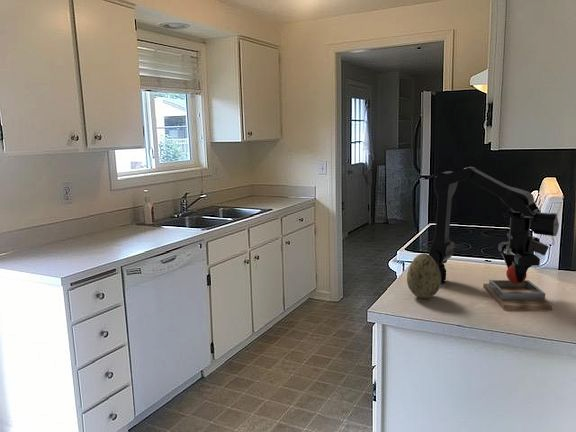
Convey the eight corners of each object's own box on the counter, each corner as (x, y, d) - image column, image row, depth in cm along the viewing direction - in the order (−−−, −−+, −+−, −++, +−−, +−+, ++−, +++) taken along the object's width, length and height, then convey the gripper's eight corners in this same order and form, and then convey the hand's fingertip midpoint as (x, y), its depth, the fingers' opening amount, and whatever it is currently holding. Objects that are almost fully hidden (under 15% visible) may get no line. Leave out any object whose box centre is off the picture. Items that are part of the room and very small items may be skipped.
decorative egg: (401, 299, 153) (402, 255, 150) (413, 289, 162) (414, 247, 159) (434, 306, 147) (435, 259, 144) (444, 295, 156) (446, 251, 153)
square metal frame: (502, 300, 146) (502, 293, 145) (489, 287, 158) (489, 280, 157) (544, 301, 144) (545, 293, 144) (528, 287, 157) (528, 280, 156)
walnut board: (503, 309, 142) (503, 305, 142) (483, 287, 162) (483, 283, 162) (552, 310, 141) (552, 305, 141) (525, 287, 160) (525, 283, 160)
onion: (508, 280, 155) (510, 257, 153) (527, 284, 151) (529, 260, 149) (503, 285, 150) (505, 261, 149) (523, 289, 147) (524, 264, 145)
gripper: (560, 238, 137) (555, 289, 140) (533, 225, 156) (530, 270, 158) (520, 238, 138) (517, 289, 141) (499, 225, 157) (496, 270, 160)
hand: (516, 279), depth 150 cm, fingers closed on onion, 6 cm apart
